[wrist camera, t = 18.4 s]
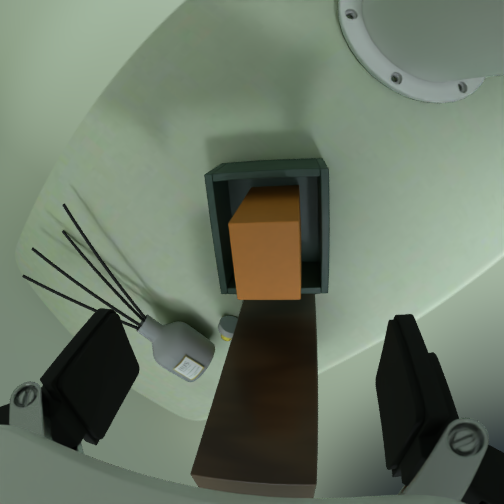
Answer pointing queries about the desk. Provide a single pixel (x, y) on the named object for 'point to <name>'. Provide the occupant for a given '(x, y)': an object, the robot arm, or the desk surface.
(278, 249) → the orange block
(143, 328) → the reed diffuser
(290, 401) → the stand
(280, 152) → the desk surface
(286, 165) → the bin
